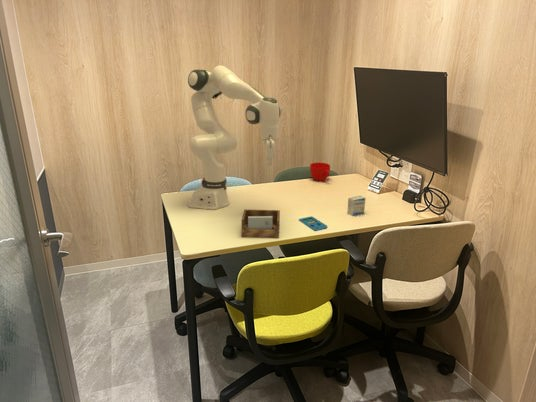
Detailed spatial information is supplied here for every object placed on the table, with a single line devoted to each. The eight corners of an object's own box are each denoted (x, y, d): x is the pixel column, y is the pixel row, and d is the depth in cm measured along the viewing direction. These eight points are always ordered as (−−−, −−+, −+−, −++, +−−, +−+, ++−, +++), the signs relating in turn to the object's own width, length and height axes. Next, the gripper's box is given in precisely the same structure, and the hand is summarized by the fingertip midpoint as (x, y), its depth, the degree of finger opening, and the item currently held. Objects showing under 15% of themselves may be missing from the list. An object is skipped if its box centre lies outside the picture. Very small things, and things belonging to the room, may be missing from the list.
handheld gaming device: (315, 229, 185) (298, 218, 197) (315, 232, 185) (298, 220, 198) (329, 226, 189) (311, 215, 201) (329, 228, 189) (311, 217, 201)
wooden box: (241, 236, 179) (241, 220, 177) (244, 224, 192) (244, 209, 189) (278, 237, 179) (279, 221, 176) (279, 225, 191) (279, 210, 188)
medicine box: (352, 216, 203) (353, 200, 200) (346, 213, 206) (348, 197, 203) (364, 213, 206) (365, 197, 203) (358, 210, 210) (360, 195, 207)
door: (248, 234, 179) (248, 218, 176) (248, 232, 182) (248, 216, 179) (272, 234, 180) (272, 218, 177) (272, 232, 182) (272, 216, 179)
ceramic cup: (319, 185, 248) (320, 170, 244) (305, 178, 262) (306, 163, 258) (336, 183, 253) (337, 168, 249) (322, 175, 267) (323, 161, 263)
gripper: (277, 138, 175) (277, 168, 180) (275, 129, 194) (274, 157, 199) (263, 138, 175) (263, 168, 180) (262, 129, 194) (262, 157, 199)
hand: (269, 162), depth 189 cm, fingers open, 8 cm apart
